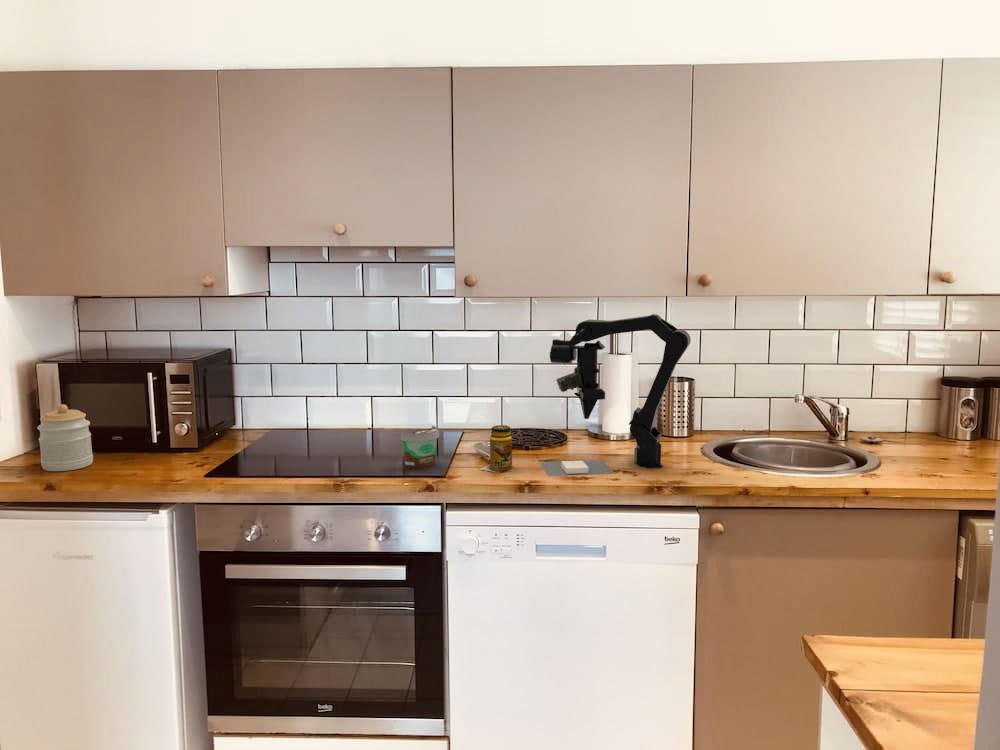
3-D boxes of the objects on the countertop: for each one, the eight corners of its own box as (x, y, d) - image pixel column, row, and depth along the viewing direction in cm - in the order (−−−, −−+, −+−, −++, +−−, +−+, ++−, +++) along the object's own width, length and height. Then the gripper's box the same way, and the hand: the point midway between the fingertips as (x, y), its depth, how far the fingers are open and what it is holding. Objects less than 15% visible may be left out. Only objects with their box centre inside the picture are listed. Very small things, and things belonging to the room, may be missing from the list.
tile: (582, 460, 219) (588, 467, 212) (582, 466, 219) (588, 473, 212) (561, 461, 218) (566, 468, 211) (561, 467, 218) (566, 474, 211)
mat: (601, 461, 226) (601, 460, 226) (614, 475, 212) (614, 473, 212) (539, 464, 224) (539, 462, 223) (548, 477, 210) (548, 475, 210)
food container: (416, 472, 216) (415, 436, 214) (401, 467, 220) (400, 432, 219) (448, 463, 225) (448, 428, 223) (434, 459, 229) (433, 425, 228)
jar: (104, 461, 228) (98, 401, 225) (68, 473, 215) (62, 410, 213) (67, 458, 231) (61, 398, 228) (30, 470, 219) (23, 407, 216)
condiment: (505, 474, 214) (505, 430, 212) (478, 469, 218) (478, 427, 216) (518, 467, 220) (518, 425, 218) (492, 463, 224) (491, 422, 222)
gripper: (552, 360, 232) (552, 412, 234) (565, 370, 214) (565, 426, 216) (590, 359, 233) (589, 411, 236) (606, 369, 215) (605, 425, 217)
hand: (586, 418), depth 226 cm, fingers closed
